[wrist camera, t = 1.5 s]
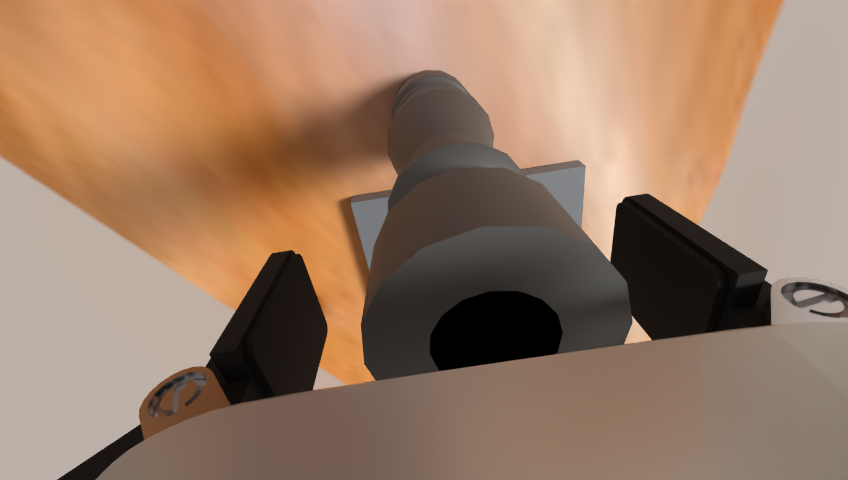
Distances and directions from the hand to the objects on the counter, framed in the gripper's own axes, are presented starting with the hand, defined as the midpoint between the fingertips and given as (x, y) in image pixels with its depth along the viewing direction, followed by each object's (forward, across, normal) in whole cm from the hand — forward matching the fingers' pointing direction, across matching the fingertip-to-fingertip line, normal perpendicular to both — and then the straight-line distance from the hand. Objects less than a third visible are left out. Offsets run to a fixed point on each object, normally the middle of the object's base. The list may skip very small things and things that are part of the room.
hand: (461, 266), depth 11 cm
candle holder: (+22, -1, -1) cm, 22 cm away
